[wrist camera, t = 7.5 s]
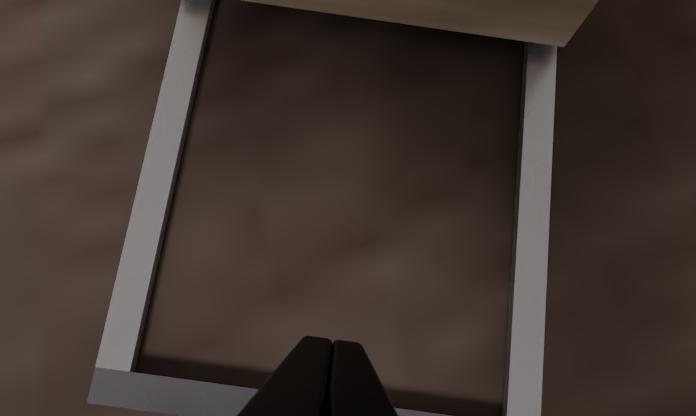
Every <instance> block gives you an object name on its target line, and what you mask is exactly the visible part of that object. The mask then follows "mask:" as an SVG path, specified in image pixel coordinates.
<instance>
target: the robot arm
mask: <svg viewBox="0 0 696 416" xmlns="http://www.w3.org/2000/svg"><path fill="white" fill-rule="evenodd" d="M237 416H398V414H397V412H396V410H395V408H394V406H393V404H392V402H391V400H390V398H389V397H388V395H387V393H386V391H385V389H384V387H383V385H382V383H381V381H380V379H379V377H378V375H377V373H376V371H375V369H374V368H373V366H372V364H371V362H370V360H369V358H368V356H367V354H366V352H365V350H364V348H363V347H362V345H361V344H360V343H357V342H350V341H343V340H335V341H334V342H333V344H332V342H331V340H330V339H328V338H321V337H313V336H305V337H303V338H302V339H301V340H300V341H299V343H298V344H297V345H296V346H295V347H294V349H293V350H292V351H291V352H290V353H289V354H288V356H287V357H286V358H285V359H284V360H283V361H282V363H281V364H280V365H279V366H278V367H277V369H276V370H275V371H274V372H273V373H272V374H271V376H270V377H269V378H268V379H267V380H266V381H265V383H264V384H263V385H262V386H261V387H260V389H259V390H258V391H257V392H256V393H255V394H254V396H253V397H252V398H251V399H250V400H249V401H248V403H247V404H246V405H245V406H244V407H243V409H242V410H241V411H240V412H239V413H238V414H237Z"/></svg>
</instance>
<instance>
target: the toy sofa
mask: <svg viewBox="0 0 696 416" xmlns="http://www.w3.org/2000/svg"><path fill="white" fill-rule="evenodd" d="M242 1H249V2H256V3H263V4H269V5H276V6H283V7H290V8H297V9H304V10H311V11H318V12H325V13H332V14H339V15H346V16H352V17H359V18H366V19H373V20H380V21H387V22H394V23H401V24H408V25H415V26H422V27H429V28H435V29H442V30H449V31H456V32H463V33H470V34H477V35H484V36H491V37H498V38H505V39H512V40H518V41H525V42H532V43H539V44H546V45H553V46H560V47H565V46H566V44H567V43H568V41H569V40H570V39H571V37H572V36H573V35H574V33H575V32H576V31H577V29H578V28H579V27H580V25H581V24H582V22H583V21H584V20H585V18H586V17H587V16H588V14H589V13H590V12H591V10H592V9H593V8H594V6H595V5H596V3H597V2H598V1H599V0H242Z"/></svg>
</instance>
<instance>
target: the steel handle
mask: <svg viewBox="0 0 696 416" xmlns="http://www.w3.org/2000/svg"><path fill="white" fill-rule="evenodd" d="M214 5H215V0H181V4H180V9H179V13H178V17H177V21H176V26H175V30H174V34H173V38H172V43H171V47H170V51H169V55H168V60H167V64H166V68H165V72H164V77H163V81H162V85H161V89H160V94H159V98H158V102H157V107H156V111H155V115H154V119H153V124H152V128H151V132H150V136H149V141H148V145H147V149H146V153H145V158H144V162H143V166H142V170H141V175H140V179H139V183H138V187H137V192H136V196H135V200H134V204H133V209H132V213H131V217H130V221H129V226H128V230H127V234H126V238H125V243H124V247H123V251H122V255H121V260H120V264H119V268H118V272H117V277H116V281H115V285H114V289H113V294H112V298H111V302H110V306H109V311H108V315H107V319H106V323H105V328H104V332H103V336H102V340H101V345H100V349H99V353H98V358H97V362H96V366H95V370H94V375H93V379H92V383H91V387H90V392H89V396H88V400H87V403H90V404H97V405H105V406H112V407H120V408H127V409H134V410H142V411H149V412H156V413H164V414H171V415H179V416H237V414H238V413H239V412H240V411H241V410H242V409H243V407H244V406H245V405H246V404H247V403H248V401H249V400H250V399H251V398H252V397H253V396H254V394H255V393H256V392H257V391H258V390H259V389H255V388H247V387H240V386H233V385H225V384H218V383H211V382H203V381H196V380H189V379H181V378H174V377H167V376H159V375H152V374H145V373H137V372H135V368H136V363H137V359H138V354H139V349H140V345H141V340H142V336H143V331H144V326H145V322H146V317H147V313H148V308H149V303H150V299H151V294H152V290H153V285H154V280H155V276H156V271H157V267H158V262H159V258H160V253H161V248H162V244H163V239H164V235H165V230H166V225H167V221H168V216H169V212H170V207H171V202H172V198H173V193H174V189H175V184H176V179H177V175H178V170H179V166H180V161H181V157H182V152H183V147H184V143H185V138H186V134H187V129H188V124H189V120H190V115H191V111H192V106H193V101H194V97H195V92H196V88H197V83H198V78H199V74H200V69H201V65H202V60H203V56H204V51H205V46H206V42H207V37H208V33H209V28H210V23H211V19H212V14H213V10H214ZM556 60H557V46H553V45H546V44H539V43H532V42H525V41H524V57H523V74H522V91H521V107H520V124H519V140H518V157H517V174H516V190H515V207H514V223H513V240H512V256H511V273H510V290H509V306H508V323H507V339H506V356H505V373H504V389H503V406H502V416H541V401H542V379H543V356H544V333H545V310H546V288H547V265H548V242H549V219H550V197H551V174H552V151H553V129H554V106H555V83H556ZM395 410H396V412H397V414H398V416H453V415H445V414H438V413H431V412H423V411H416V410H409V409H401V408H395Z"/></svg>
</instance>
